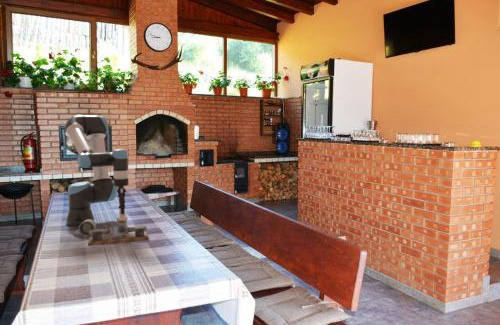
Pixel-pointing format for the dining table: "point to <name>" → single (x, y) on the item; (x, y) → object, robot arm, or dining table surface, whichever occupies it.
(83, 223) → the ceramic mug
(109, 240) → the shaft bench
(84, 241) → the dining table surface
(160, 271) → the dining table surface
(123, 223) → the knob
